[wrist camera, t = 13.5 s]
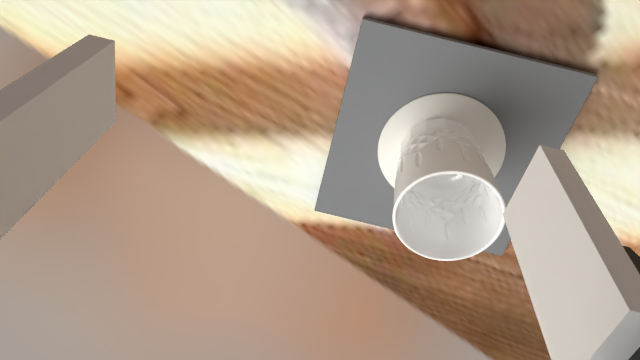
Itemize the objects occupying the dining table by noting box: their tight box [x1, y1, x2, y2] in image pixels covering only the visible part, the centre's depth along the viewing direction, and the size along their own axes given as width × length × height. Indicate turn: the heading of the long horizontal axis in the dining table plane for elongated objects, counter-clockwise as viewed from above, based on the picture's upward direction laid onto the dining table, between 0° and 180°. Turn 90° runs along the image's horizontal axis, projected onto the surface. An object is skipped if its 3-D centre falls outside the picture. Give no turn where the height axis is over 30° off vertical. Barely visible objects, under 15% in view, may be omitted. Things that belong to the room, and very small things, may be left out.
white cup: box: [392, 118, 506, 261], centre depth 40 cm, size 8×8×10 cm
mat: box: [315, 17, 598, 256], centre depth 45 cm, size 19×19×1 cm
